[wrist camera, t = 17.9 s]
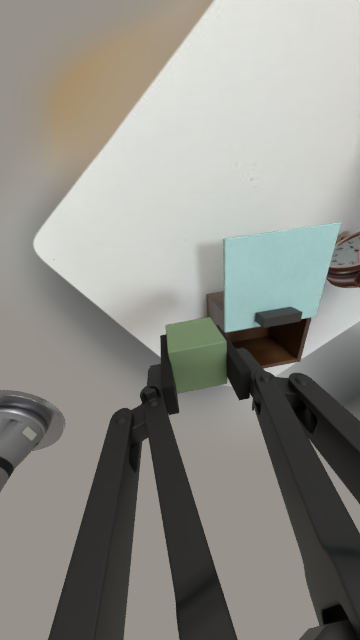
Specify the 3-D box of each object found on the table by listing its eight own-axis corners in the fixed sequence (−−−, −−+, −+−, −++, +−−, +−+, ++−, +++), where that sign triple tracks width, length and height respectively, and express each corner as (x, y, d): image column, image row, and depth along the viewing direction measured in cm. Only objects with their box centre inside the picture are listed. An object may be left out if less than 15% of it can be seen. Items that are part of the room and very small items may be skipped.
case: (209, 347, 41) (224, 376, 32) (206, 294, 35) (223, 311, 26) (269, 336, 42) (300, 361, 33) (277, 282, 36) (317, 296, 27)
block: (172, 360, 18) (176, 394, 14) (165, 324, 16) (167, 352, 12) (212, 352, 18) (227, 383, 14) (209, 316, 16) (226, 341, 12)
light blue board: (223, 330, 27) (231, 340, 25) (223, 239, 21) (232, 238, 18) (312, 315, 28) (329, 322, 25) (337, 222, 22) (362, 219, 19)
